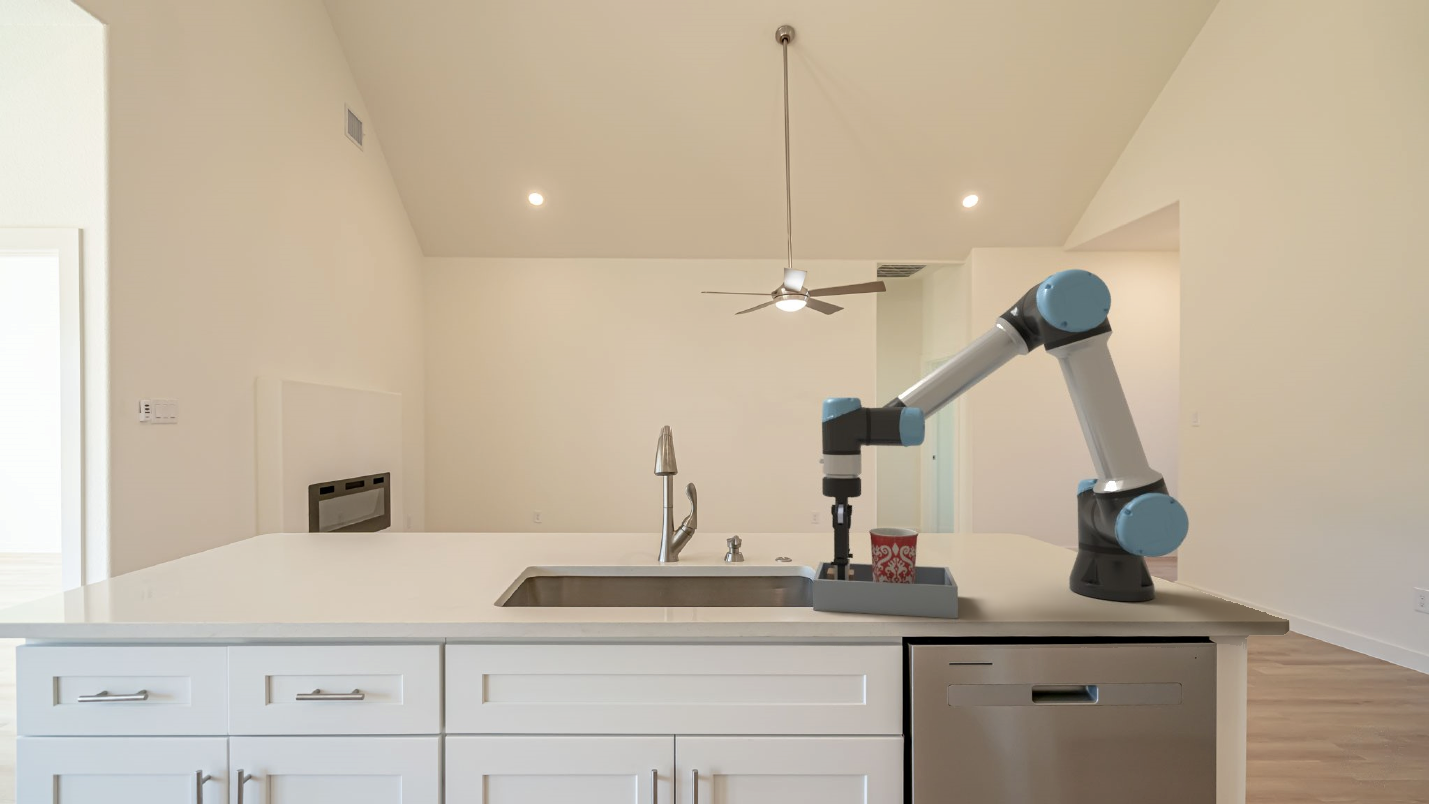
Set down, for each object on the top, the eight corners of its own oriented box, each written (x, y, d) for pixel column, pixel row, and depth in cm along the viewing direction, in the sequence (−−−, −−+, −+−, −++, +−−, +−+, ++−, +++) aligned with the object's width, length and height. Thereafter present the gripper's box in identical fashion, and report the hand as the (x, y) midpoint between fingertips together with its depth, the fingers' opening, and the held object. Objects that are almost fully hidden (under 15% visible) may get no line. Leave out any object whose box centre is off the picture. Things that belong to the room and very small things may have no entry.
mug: (922, 609, 130) (922, 535, 130) (872, 608, 131) (871, 534, 131) (911, 592, 142) (911, 524, 143) (865, 591, 143) (865, 524, 144)
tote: (948, 595, 142) (948, 567, 142) (957, 618, 126) (957, 586, 126) (820, 588, 148) (819, 561, 148) (813, 610, 132) (813, 579, 132)
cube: (854, 594, 141) (854, 569, 141) (853, 601, 136) (853, 574, 136) (828, 592, 142) (828, 567, 142) (826, 599, 137) (827, 573, 137)
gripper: (825, 472, 149) (825, 583, 148) (818, 479, 131) (819, 606, 131) (862, 472, 147) (862, 585, 147) (860, 480, 130) (860, 608, 129)
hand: (842, 594), depth 139 cm, fingers closed on cube, 5 cm apart
